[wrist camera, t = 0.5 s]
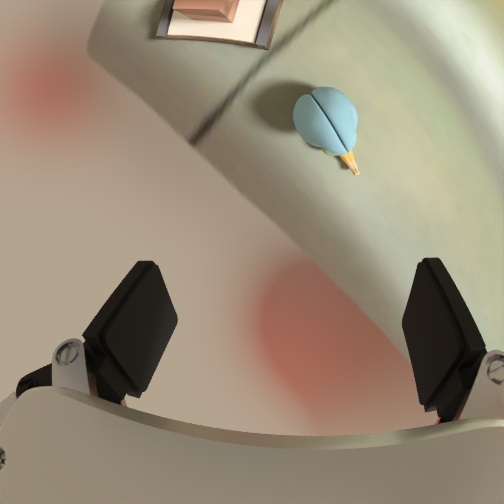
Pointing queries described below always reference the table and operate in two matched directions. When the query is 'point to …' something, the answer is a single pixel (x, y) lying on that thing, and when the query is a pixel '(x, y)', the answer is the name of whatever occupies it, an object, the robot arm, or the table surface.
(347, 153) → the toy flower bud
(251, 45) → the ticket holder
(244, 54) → the table surface
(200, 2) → the block on cream tray
